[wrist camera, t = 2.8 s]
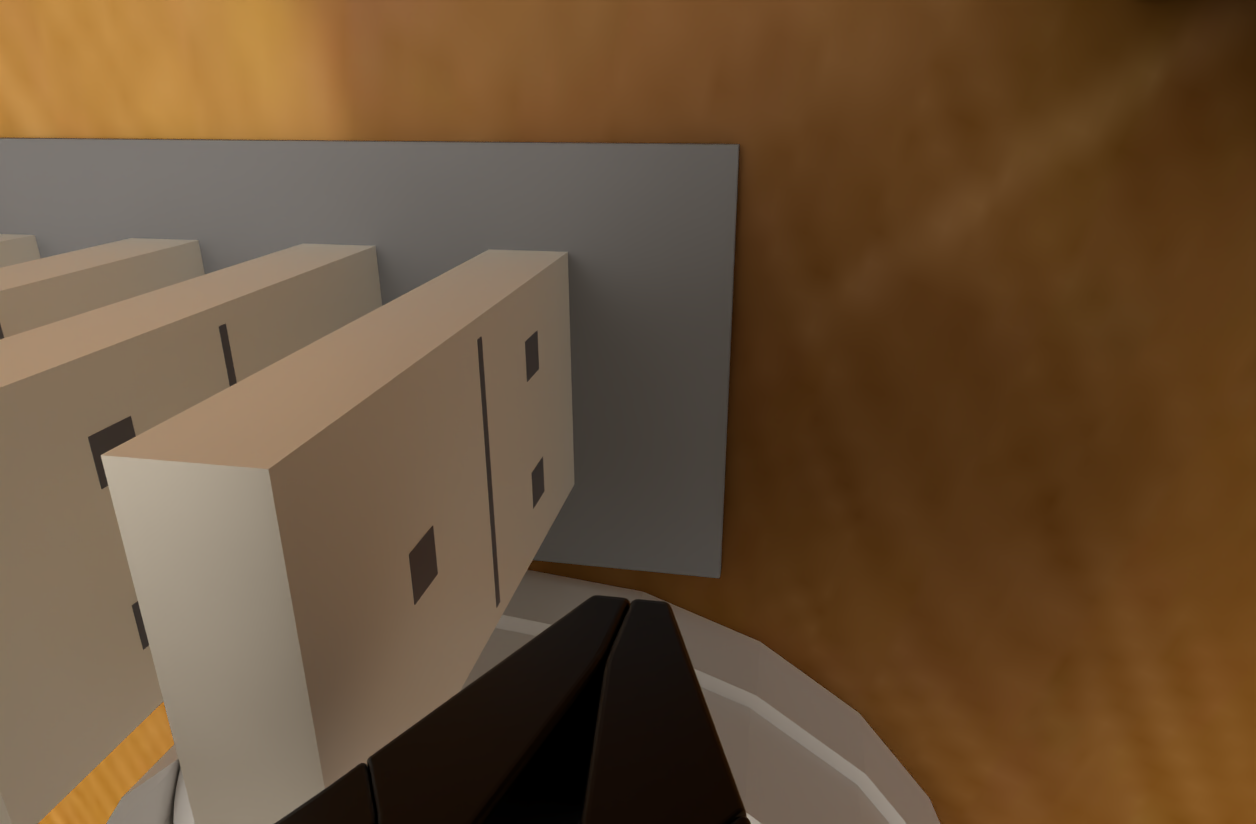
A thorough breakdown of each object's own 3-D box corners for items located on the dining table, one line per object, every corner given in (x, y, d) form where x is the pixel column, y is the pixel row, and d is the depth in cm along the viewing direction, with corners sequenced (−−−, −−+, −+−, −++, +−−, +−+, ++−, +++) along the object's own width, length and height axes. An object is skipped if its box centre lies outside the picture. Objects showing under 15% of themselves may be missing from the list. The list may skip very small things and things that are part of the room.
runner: (739, 144, 15) (738, 144, 15) (721, 571, 18) (719, 578, 18) (-200, 136, 19) (-215, 136, 18) (-75, 494, 22) (-87, 499, 22)
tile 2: (376, 245, 17) (-128, 436, 8) (401, 470, 19) (19, 840, 9) (302, 243, 17) (-268, 423, 8) (334, 464, 19) (-100, 821, 10)
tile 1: (568, 251, 16) (270, 469, 7) (574, 484, 18) (345, 900, 9) (488, 249, 16) (99, 454, 7) (503, 478, 18) (207, 875, 9)
